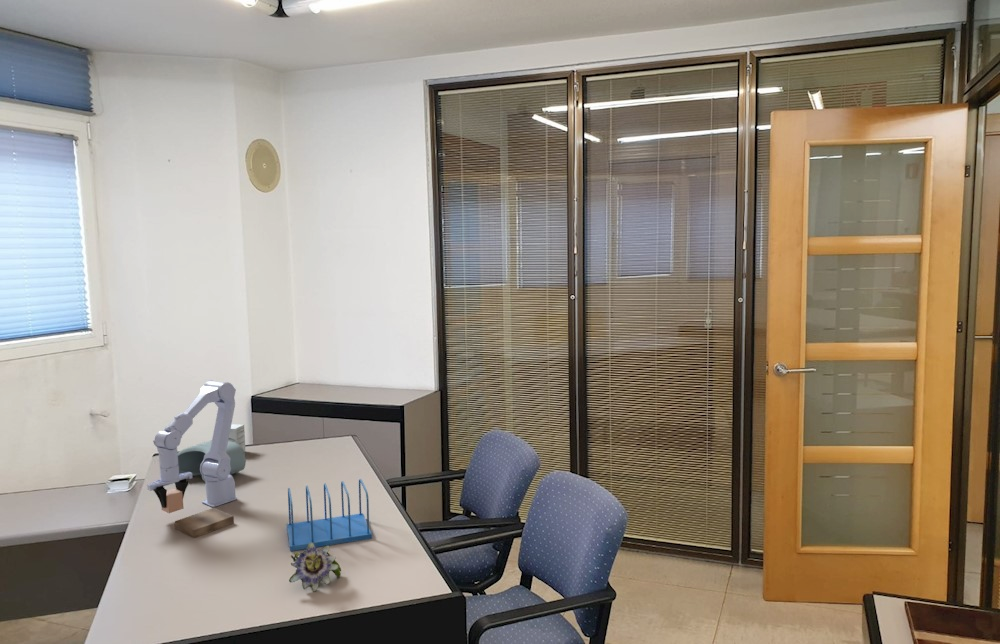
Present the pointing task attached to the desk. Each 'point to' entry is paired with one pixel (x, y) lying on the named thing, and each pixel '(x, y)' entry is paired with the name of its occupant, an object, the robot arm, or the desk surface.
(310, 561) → the passion flower
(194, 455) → the green rounded shell
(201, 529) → the block
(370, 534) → the file sorter
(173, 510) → the terracotta block
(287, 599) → the desk surface
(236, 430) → the supplement box
